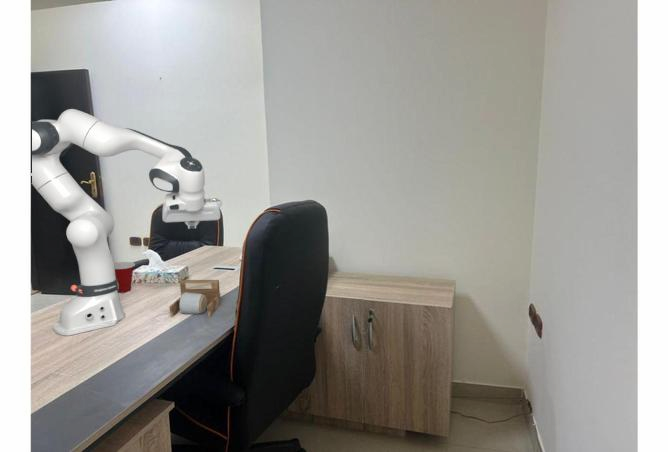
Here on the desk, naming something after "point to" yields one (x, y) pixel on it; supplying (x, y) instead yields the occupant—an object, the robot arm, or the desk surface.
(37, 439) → the desk surface
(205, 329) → the desk surface
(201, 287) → the display bay
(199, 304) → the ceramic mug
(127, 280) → the plastic cup
